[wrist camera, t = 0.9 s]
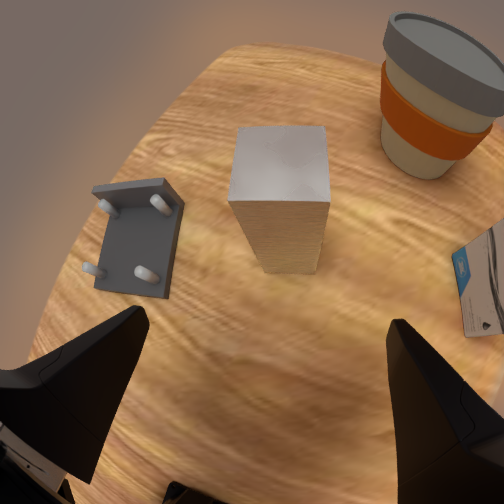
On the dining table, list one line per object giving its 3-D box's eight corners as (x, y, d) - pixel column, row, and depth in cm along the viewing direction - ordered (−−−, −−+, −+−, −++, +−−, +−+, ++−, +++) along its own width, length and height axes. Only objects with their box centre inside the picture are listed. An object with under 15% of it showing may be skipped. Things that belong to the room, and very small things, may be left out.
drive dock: (168, 299, 25) (140, 288, 20) (99, 289, 26) (68, 279, 22) (184, 202, 28) (164, 177, 23) (118, 206, 29) (93, 186, 25)
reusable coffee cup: (469, 201, 22) (540, 115, 8) (370, 185, 25) (410, 61, 11) (445, 121, 26) (480, 35, 12) (360, 104, 28) (372, 1, 14)
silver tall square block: (314, 274, 23) (330, 201, 11) (264, 272, 24) (227, 200, 12) (315, 227, 24) (325, 126, 12) (267, 225, 25) (238, 127, 13)
